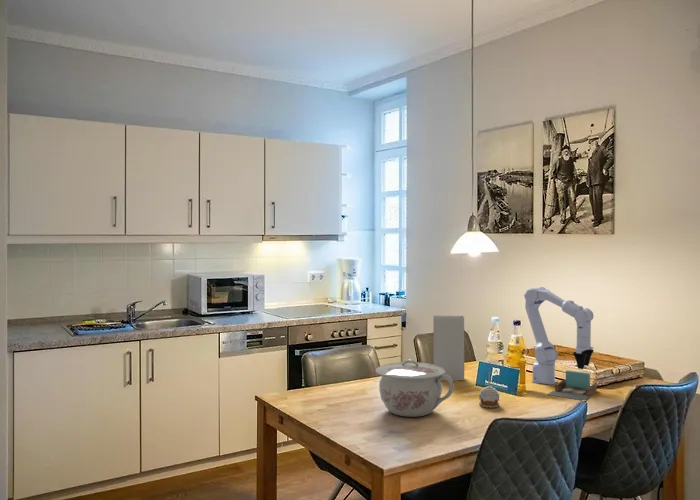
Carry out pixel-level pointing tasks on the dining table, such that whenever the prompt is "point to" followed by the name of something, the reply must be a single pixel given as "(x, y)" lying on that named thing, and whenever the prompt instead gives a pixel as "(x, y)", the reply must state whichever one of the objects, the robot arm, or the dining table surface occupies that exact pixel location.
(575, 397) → the slate mat
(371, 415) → the dining table surface
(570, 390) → the offcut upper
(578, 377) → the teal sheet
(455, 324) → the tall grey upright panel
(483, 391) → the caramel apple
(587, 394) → the offcut rack
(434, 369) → the chamber pot
